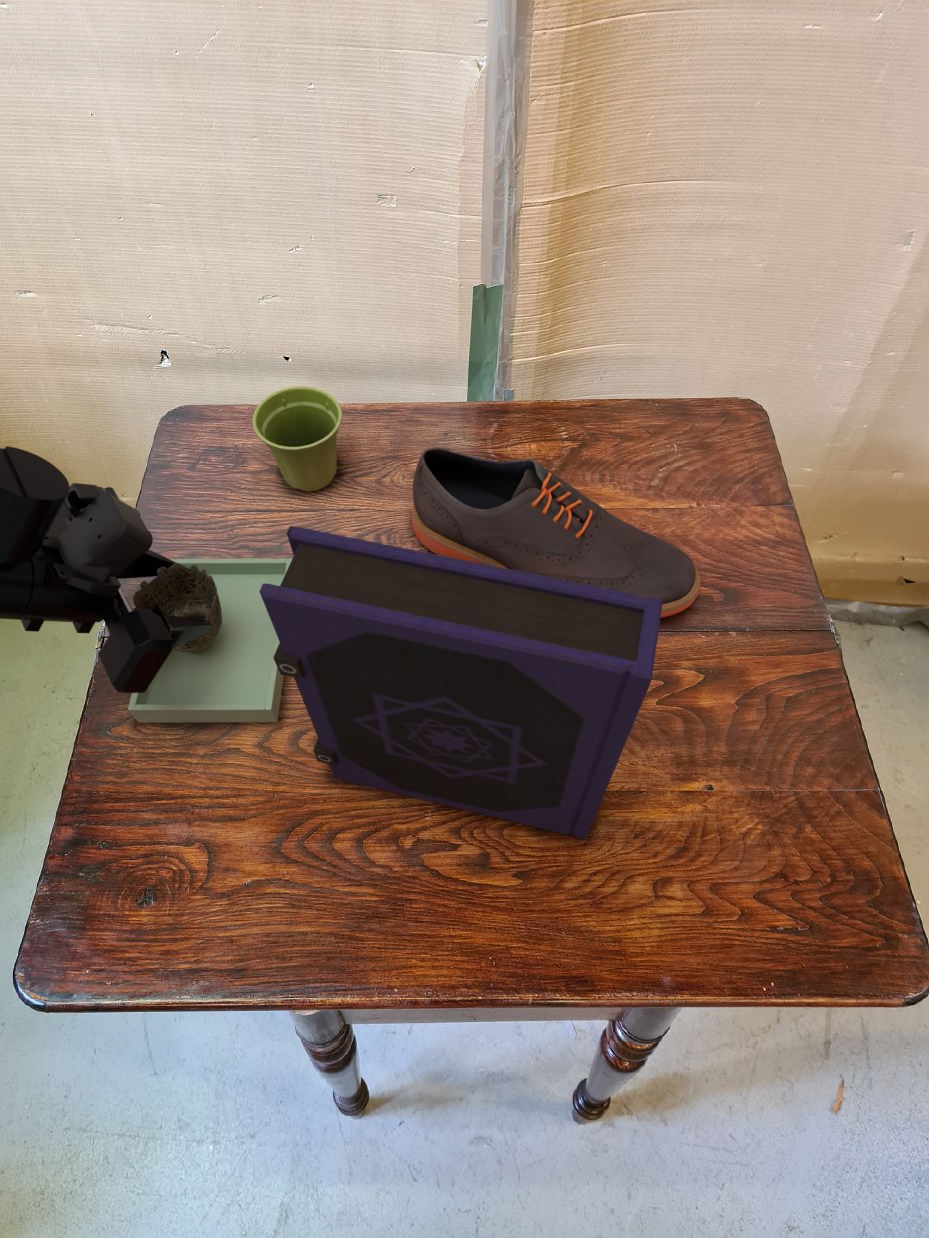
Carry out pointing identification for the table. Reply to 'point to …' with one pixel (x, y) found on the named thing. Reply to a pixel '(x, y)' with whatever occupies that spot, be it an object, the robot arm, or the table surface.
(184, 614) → the ornate lamp shade
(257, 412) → the plant pot
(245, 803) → the table surface
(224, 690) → the tray
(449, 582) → the book
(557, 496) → the oxford shoe
